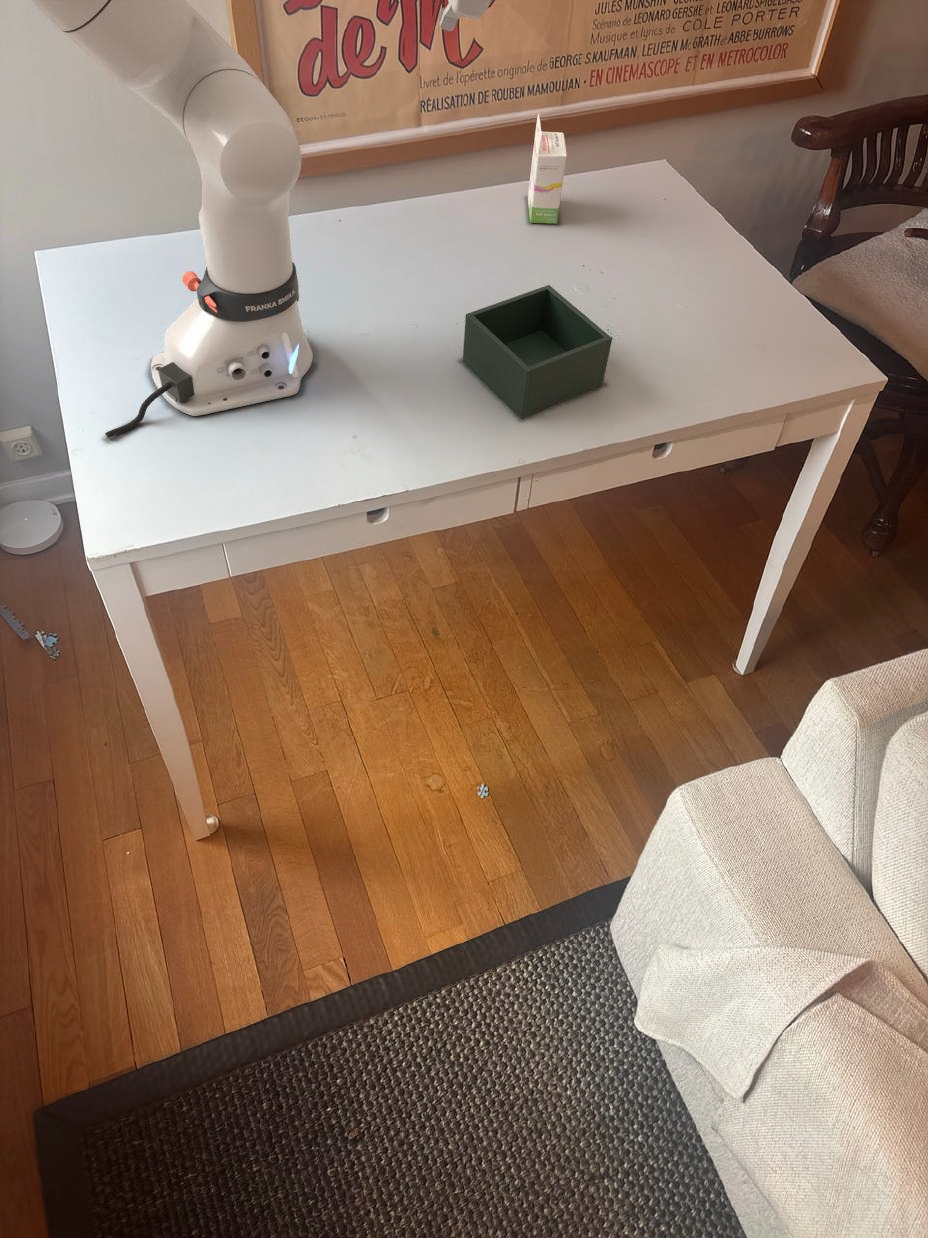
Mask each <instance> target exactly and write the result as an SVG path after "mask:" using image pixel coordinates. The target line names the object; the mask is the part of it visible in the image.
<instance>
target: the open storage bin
mask: <svg viewBox="0 0 928 1238" xmlns="http://www.w3.org/2000/svg"><path fill="white" fill-rule="evenodd" d="M464 318H465V319H464V335H463V351H462V362H463V363H464V364H465V365H466V366H467V368H469V369H470V370H471V371H472V372H473V373H474V374H475V375H476V376H477V377H478V378H479V379H480V381H482V382H483V383H484V384H485V385H486V386H487V387H488V388H489V389H490V390H492V392H493V393H494V394H495V395H497V397H498V398H500V399H501V400H502V402H504V403H505V404H506V405H507V406H508V408H510V409H511V410H512V411H513V412H514V413H515V414H516V415H517V416H518V417H519V418H520V419H524V418H526V417H528V416H531V415H534V414H536V413H538V412H541V411H543V410H546V409H548V408H551V407H552V406H555V405H557V404H559V403H562V402H565V401H567V400H569V399H572V398H574V397H577V396H579V395H582V394H584V393H586V392H590V391H592V390H593V389H597V388H599V387H601V386H603V385H604V379H605V377H606V376H605V375H606V372H607V371H606V370H607V366H608V362H609V356H610V352H611V348H612V342H613V338H612V336H610V335H609V334H608V333H607V332H605V330H603V329H602V328H601V327H599V326H598V324H597V323H595V322H594V321H593V320H591V319H590V317H588V316H587V315H586V314H584V313H583V312H582V311H580V309H578V308H577V307H576V306H575V305H574V304H573V303H571V302H570V301H569V300H568V299H566V297H564V296H563V295H561V293H559V291H558V290H556V289H555V288H553V287H552V286H551V285H550V284H548V285H545V286H541V287H538V288H535V289H533V290H529V291H527V292H524V293H522V294H519V295H516V296H513V297H510V298H507V299H505V300H502V301H498V302H496V303H493V304H490V305H487V306H485V307H482V308H479V309H477V310H473V311H470V312H467V313H466V314H465V317H464Z"/></svg>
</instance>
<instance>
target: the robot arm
mask: <svg viewBox="0 0 928 1238" xmlns="http://www.w3.org/2000/svg"><path fill="white" fill-rule="evenodd" d="M30 1H31V3H32V4H34V5H35V6H36V7H37V9H38V10H39V11H40V12H41V13H42V14H43V15H44V16H45V17H46V18H47V19H49V21H51V22H52V24H54V25H55V27H57V29H59V30H60V31H61V32H62V33H63V34H65V36H66V37H68V38H69V39H70V40H71V41H72V42H73V43H74V44H76V46H78V48H80V49H81V50H82V51H83V52H84V53H85V54H86V55H87V56H88V57H90V58H91V60H93V61H94V62H95V63H96V64H97V65H98V66H99V67H100V68H101V69H103V71H105V72H106V74H108V75H109V76H110V77H112V79H114V80H115V81H116V82H117V84H119V85H120V86H121V87H123V88H124V89H126V90H129V91H131V92H132V93H133V94H135V95H137V96H138V97H139V98H140V99H142V100H144V101H145V102H146V103H147V104H149V105H150V106H151V107H153V108H154V109H155V110H156V111H158V112H159V113H160V114H161V115H163V116H164V117H165V119H167V120H168V121H169V122H170V123H171V124H172V125H173V126H174V127H175V128H176V129H177V130H178V132H179V133H180V134H181V136H182V137H183V138H184V139H185V140H186V142H187V143H188V145H189V146H190V147H191V150H192V152H193V154H194V156H195V159H196V162H197V165H198V169H199V173H200V179H201V193H202V194H201V195H202V196H201V207H200V209H199V212H198V223H199V228H200V229H199V230H200V235H201V241H202V246H203V252H204V258H205V264H206V268H205V270H204V274H203V277H202V279H200V278H199V277H198V275H197V273H196V272H194V271H192V270H189V271H186V272H185V273H183V276H182V277H181V278H182V280H181V281H182V283H183V284H184V286H185V287H187V289H188V290H189V291H190V292H195V293H196V296H197V298H196V299H195V300H194V301H193V302H192V303H191V304H190V305H189V306H188V307H187V308H186V309H185V310H184V311H183V312H182V313H181V314H180V315H179V316H178V317H177V318H176V319H175V320H174V321H173V323H171V324H170V325H169V326H168V327H167V329H166V331H165V334H164V343H163V345H164V346H163V347H164V349H163V351H162V352H160V353H158V354H155V356H153V357H152V360H151V364H150V370H151V377H152V380H153V383H154V385H155V387H156V388H157V389H156V390H155V391H153V392H152V393H150V395H149V396H147V397H146V399H144V400H143V402H142V403H141V405H140V407H139V410H138V414H137V415H136V417H135V418H133V420H130V421H129V422H128V423H126V424H124V425H121V426H119V427H115V428H113V429H111V430H110V429H109V430H108V431H107V432H105V436H106V438H107V439H111V438H112V437H115V436H118V435H121V434H123V433H126V432H128V431H130V430H132V429H134V428H135V427H136V426H138V424H140V423H141V422H142V421H143V420H144V418H145V416H146V412H147V409H148V408H149V406H150V405H151V404H152V403H153V402H154V401H155V400H156V399H158V398H159V397H161V396H162V397H163V399H165V401H167V402H168V403H169V404H170V406H171V407H174V408H175V409H176V410H178V411H180V412H181V413H184V414H186V415H189V416H192V417H198V416H202V415H208V414H213V413H218V412H222V411H227V410H231V409H236V408H240V407H246V406H251V405H254V404H260V403H264V402H268V401H273V400H277V399H282V398H286V397H291V396H294V395H297V393H299V390H300V388H301V381H302V379H303V377H305V375H306V374H307V372H308V371H309V370H310V368H311V366H312V363H313V360H314V354H313V349H312V347H311V345H310V343H309V340H308V338H307V335H306V333H305V329H304V326H303V323H302V318H301V313H300V309H299V303H298V302H299V301H300V293H299V292H300V291H299V290H300V289H299V287H300V286H299V279H298V272H297V268H296V265H295V262H293V256H292V255H293V254H292V242H291V230H290V219H289V214H290V213H289V212H290V211H289V210H290V201H291V199H290V198H291V191H292V189H293V188H294V187H295V185H296V183H297V181H298V179H299V177H300V174H301V169H302V162H303V161H302V158H303V157H302V151H301V148H300V143H299V141H298V137H297V134H296V132H295V128H294V126H293V124H292V121H291V119H290V117H289V115H288V114H287V112H286V111H285V110H284V108H283V107H282V105H280V103H279V102H278V101H277V99H276V98H275V97H274V95H273V94H272V93H271V92H270V91H269V89H268V88H267V86H266V85H265V83H263V82H262V80H261V79H260V77H259V76H258V74H256V73H255V71H254V69H252V68H251V66H250V65H249V63H247V62H246V60H245V59H244V58H243V57H242V56H241V54H239V53H238V52H237V51H236V50H235V49H234V47H233V46H232V45H231V44H230V43H229V42H228V41H227V40H226V39H225V38H224V37H222V35H221V34H220V33H219V32H218V31H217V30H216V29H215V28H214V27H213V26H212V24H210V23H209V22H208V21H207V20H206V19H205V18H204V17H203V16H202V15H201V14H200V13H199V12H198V10H196V9H195V8H194V7H193V6H192V5H191V4H190V3H189V2H188V1H187V0H30ZM447 2H448V4H447V5H446V6H445V7H444V6H442V8H441V11H440V13H439V16H438V22H439V27H440V29H441V30H443V31H447V32H453V31H454V29H456V25H457V24H458V23H457V22H458V20H459V19H460V18H461V17H464V18H469V19H472V20H478V19H480V18H482V17H483V16H484V15H485V14H486V12H487V11H488V8H489V6H490V4H491V2H492V0H447Z"/></svg>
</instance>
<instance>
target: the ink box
mask: <svg viewBox="0 0 928 1238" xmlns="http://www.w3.org/2000/svg"><path fill="white" fill-rule="evenodd" d="M535 126H536V127H535V130H534V131H535V132H534V142H533V151H532V158H531V167H530V173H529V175H530V176H529V184H528V193H527V204H528V214H529V216H528V217H529V223H530V224H532V223H533V224H549V225H551V224H556V225H557V224H558V220H559V213H560V205H561V197H562V192H563V191H562V190H563V183H564V177H565V172H566V171H565V170H566V164H567V157H568V155H567V146H566V139H565V134H564V132H559V131H558V132H557V131H542V126H541V117H540V113H538V114H537V119H536V125H535Z"/></svg>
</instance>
